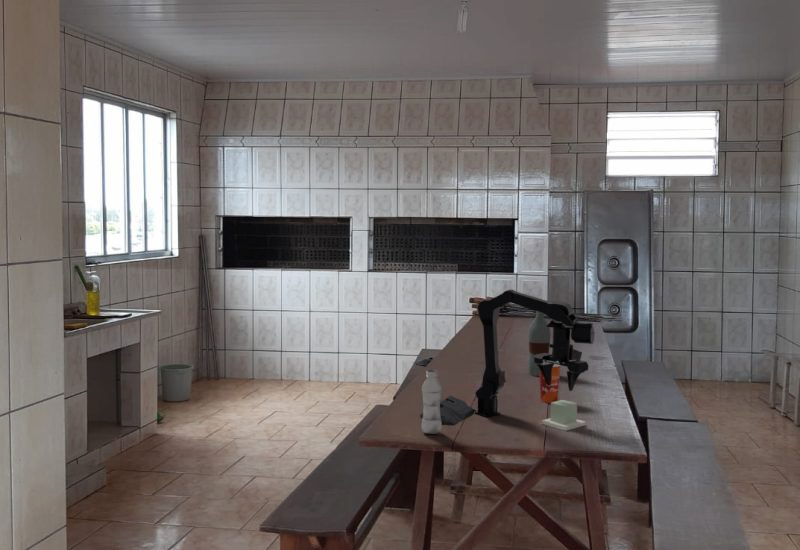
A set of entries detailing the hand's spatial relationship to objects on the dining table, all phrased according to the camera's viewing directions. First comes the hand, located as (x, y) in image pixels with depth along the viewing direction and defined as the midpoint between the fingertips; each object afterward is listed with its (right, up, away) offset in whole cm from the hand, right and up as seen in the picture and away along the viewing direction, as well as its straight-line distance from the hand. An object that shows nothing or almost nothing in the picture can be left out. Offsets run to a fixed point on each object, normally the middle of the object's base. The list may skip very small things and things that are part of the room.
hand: (559, 388), depth 268 cm
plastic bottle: (-43, -13, -11) cm, 46 cm away
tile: (+1, -12, -1) cm, 12 cm away
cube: (+1, -11, -1) cm, 11 cm away
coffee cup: (+2, -9, +29) cm, 31 cm away
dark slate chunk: (-37, -11, +10) cm, 40 cm away
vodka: (+6, -5, +74) cm, 74 cm away
